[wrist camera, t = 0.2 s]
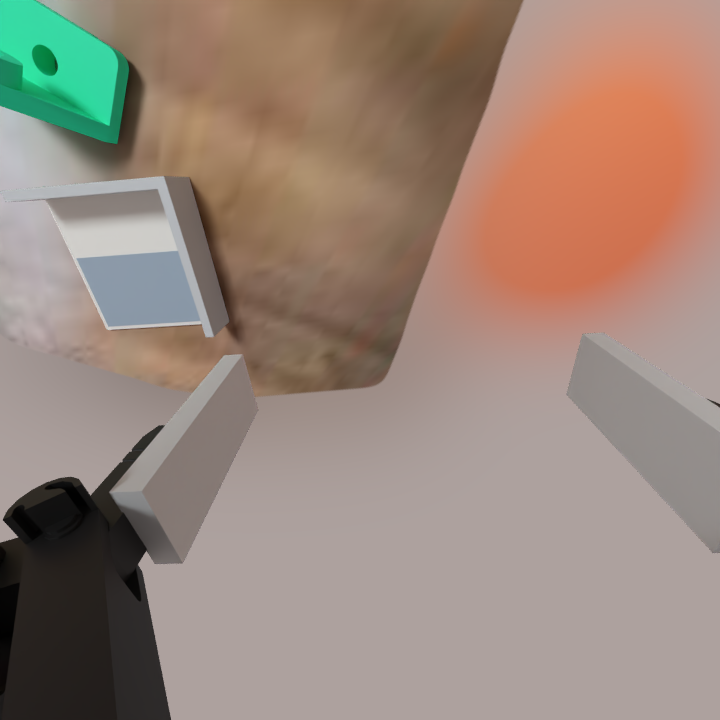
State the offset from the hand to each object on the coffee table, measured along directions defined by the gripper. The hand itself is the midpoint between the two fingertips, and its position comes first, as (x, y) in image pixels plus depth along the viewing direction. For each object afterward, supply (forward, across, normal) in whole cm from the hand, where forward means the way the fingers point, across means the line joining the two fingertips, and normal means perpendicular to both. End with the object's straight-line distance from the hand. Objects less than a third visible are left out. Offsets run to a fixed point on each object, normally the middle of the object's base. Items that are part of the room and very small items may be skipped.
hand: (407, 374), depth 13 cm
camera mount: (+30, -30, +19) cm, 46 cm away
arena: (+29, -30, 0) cm, 42 cm away
